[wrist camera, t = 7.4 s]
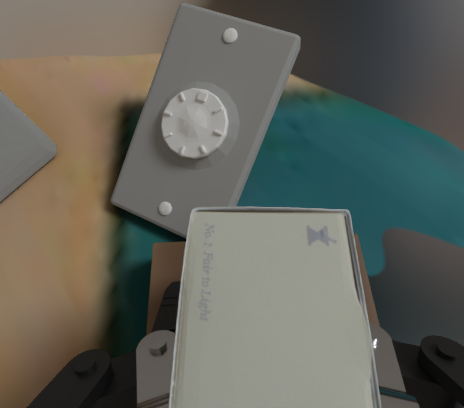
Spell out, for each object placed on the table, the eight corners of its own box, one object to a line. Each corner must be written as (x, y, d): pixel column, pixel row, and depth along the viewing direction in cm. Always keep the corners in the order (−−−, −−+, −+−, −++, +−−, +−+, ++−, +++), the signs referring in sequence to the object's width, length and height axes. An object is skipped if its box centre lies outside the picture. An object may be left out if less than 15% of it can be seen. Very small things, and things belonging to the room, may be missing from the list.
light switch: (99, 203, 19) (173, -11, 18) (144, 201, 25) (203, 40, 23) (209, 256, 18) (302, 25, 16) (231, 241, 23) (300, 70, 22)
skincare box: (216, 279, 19) (184, 196, 8) (284, 281, 18) (352, 200, 7) (209, 393, 16) (145, 521, 5) (289, 396, 16) (407, 538, 5)
